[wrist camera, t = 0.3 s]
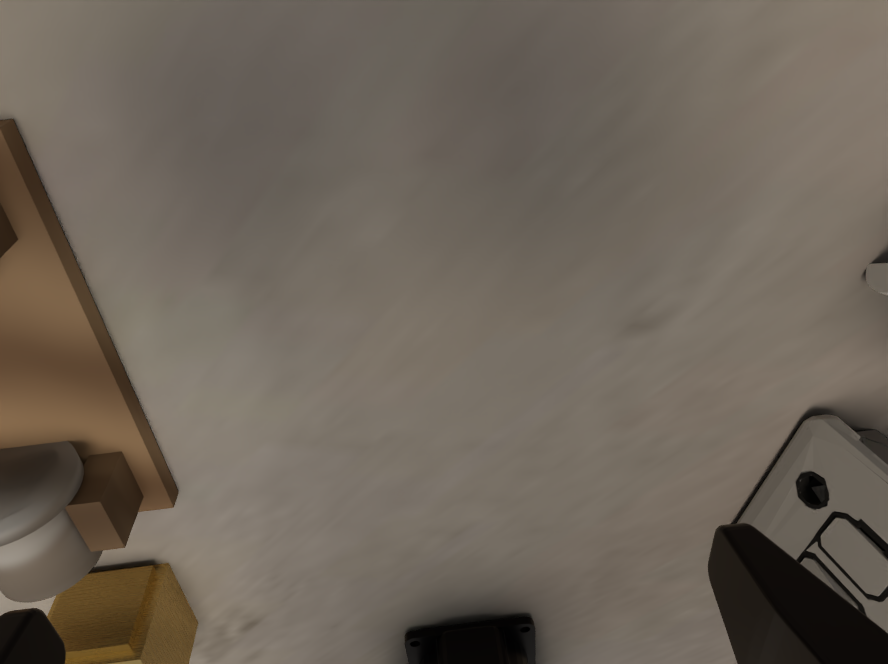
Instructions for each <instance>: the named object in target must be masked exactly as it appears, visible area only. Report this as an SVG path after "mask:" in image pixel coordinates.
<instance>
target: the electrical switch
mask: <svg viewBox="0 0 888 664" xmlns="http://www.w3.org/2000/svg"><path fill="white" fill-rule="evenodd" d="M737 523H747V524H750V525H752V526H754V527H755V528H756V529H758V530H759V531H760V532H761V533H763V534H764V535H765V536H766V537H768V538H769V539H770V540H771V541H773V542H774V543H775V544H776V545H778V546H779V547H780V548H781V549H783V550H784V551H785V552H786V553H788V554H789V555H790V556H792V557H793V558H794V559H795V560H797V561H798V562H799V563H800V564H802V565H803V566H804V567H805V568H807V569H808V570H809V571H810V572H812V573H813V574H814V575H815V576H817V577H818V578H819V579H820V580H822V581H823V582H824V583H825V584H827V585H828V586H829V587H831V588H832V589H833V590H834V591H836V592H837V593H838V594H839V595H841V596H842V597H843V598H844V599H846V600H847V601H848V602H849V603H851V604H852V605H853V606H854V607H856V608H857V609H858V610H859V611H861V612H862V613H863V614H864V615H866V616H867V617H868V618H869V619H871V620H872V621H873V622H875V623H876V624H877V625H878V626H880V627H881V628H882V629H883V630H885V631H886V632H887V633H888V439H887V438H886V437H884V436H883V435H882V434H881V433H880V432H878V431H877V430H868V431H860V432H855V431H853V430H852V429H851V428H850V427H849V426H848V425H847V424H845V423H844V422H843V421H842V420H841V419H840V418H839V417H837V416H833V415H818V416H812V417H810V418H808V419H807V420H805V421H803V423H802V424H801V426H800V427H799V429H798V430H797V432H796V434H795V435H794V437H793V438H792V440H791V441H790V443H789V444H788V446H787V447H786V449H785V450H784V452H783V453H782V455H781V456H780V458H779V459H778V461H777V462H776V464H775V466H774V467H773V469H772V470H771V472H770V473H769V475H768V476H767V478H766V479H765V481H764V482H763V484H762V485H761V487H760V488H759V490H758V491H757V493H756V495H755V496H754V498H753V499H752V501H751V502H750V504H749V505H748V507H747V508H746V510H745V511H744V513H743V514H742V516H741V517H740V519H739V520H738V522H737ZM737 523H736V524H737Z"/></svg>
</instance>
